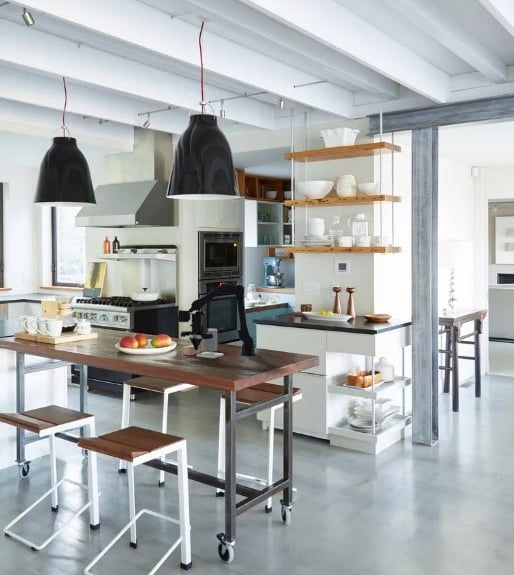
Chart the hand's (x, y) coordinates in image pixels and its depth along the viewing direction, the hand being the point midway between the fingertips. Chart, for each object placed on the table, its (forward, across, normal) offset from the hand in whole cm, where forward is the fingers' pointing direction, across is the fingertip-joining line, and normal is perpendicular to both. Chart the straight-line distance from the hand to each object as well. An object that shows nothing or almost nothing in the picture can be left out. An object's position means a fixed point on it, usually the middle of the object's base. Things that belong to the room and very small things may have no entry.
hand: (196, 350), depth 357 cm
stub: (+2, +4, 0) cm, 4 cm away
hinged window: (+2, -9, 0) cm, 10 cm away
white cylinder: (+2, +2, -15) cm, 15 cm away
